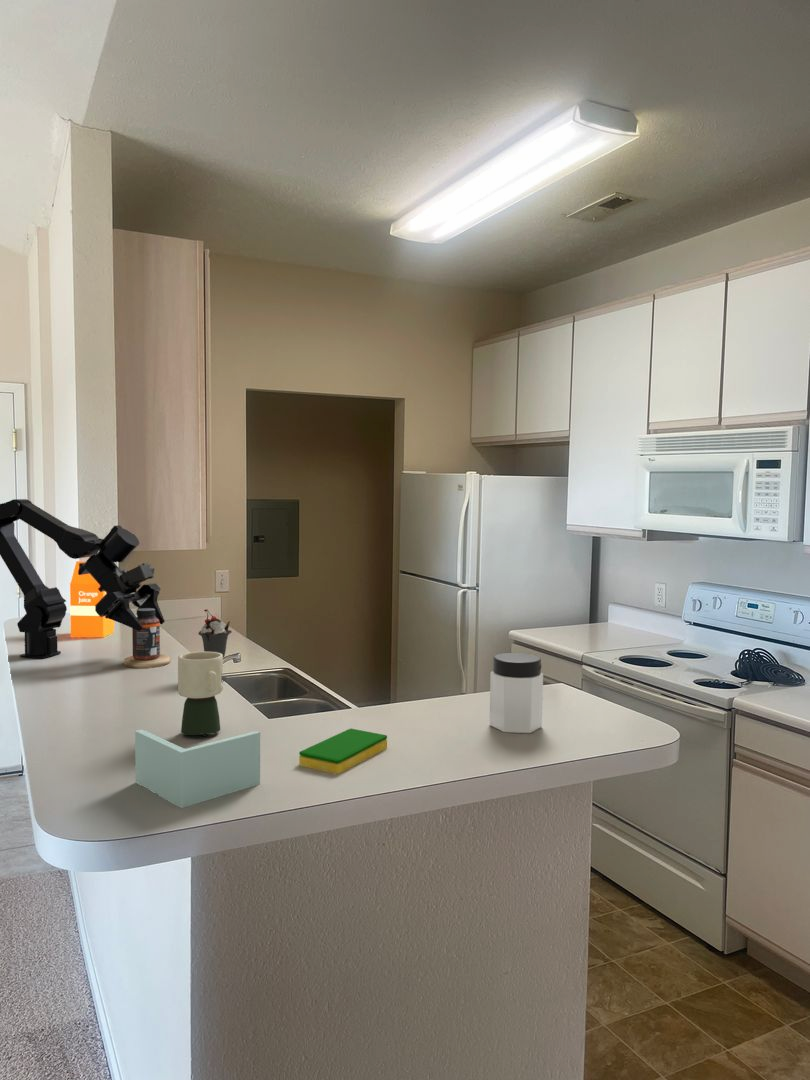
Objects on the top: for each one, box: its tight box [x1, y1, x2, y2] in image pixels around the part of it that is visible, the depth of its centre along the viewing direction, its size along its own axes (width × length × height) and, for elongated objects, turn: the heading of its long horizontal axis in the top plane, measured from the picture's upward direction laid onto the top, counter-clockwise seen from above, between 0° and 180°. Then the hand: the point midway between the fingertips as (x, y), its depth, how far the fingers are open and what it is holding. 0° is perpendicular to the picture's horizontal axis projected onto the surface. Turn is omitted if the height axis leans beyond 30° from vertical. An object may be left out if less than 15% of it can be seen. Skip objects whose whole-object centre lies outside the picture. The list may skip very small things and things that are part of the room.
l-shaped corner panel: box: [134, 728, 261, 809], centre depth 108 cm, size 12×12×8 cm
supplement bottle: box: [131, 608, 161, 660], centre depth 181 cm, size 6×6×11 cm
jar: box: [489, 652, 544, 734], centre depth 136 cm, size 9×8×12 cm
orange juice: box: [69, 560, 115, 638], centre depth 213 cm, size 8×9×20 cm
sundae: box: [197, 608, 233, 682], centre depth 167 cm, size 7×7×15 cm
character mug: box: [177, 651, 224, 736], centre depth 130 cm, size 11×7×13 cm, turn 38°
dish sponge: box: [298, 728, 388, 775], centre depth 120 cm, size 7×14×2 cm, turn 150°
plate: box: [123, 653, 171, 669], centre depth 181 cm, size 10×10×1 cm
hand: (152, 626), depth 181 cm, fingers open, 9 cm apart
